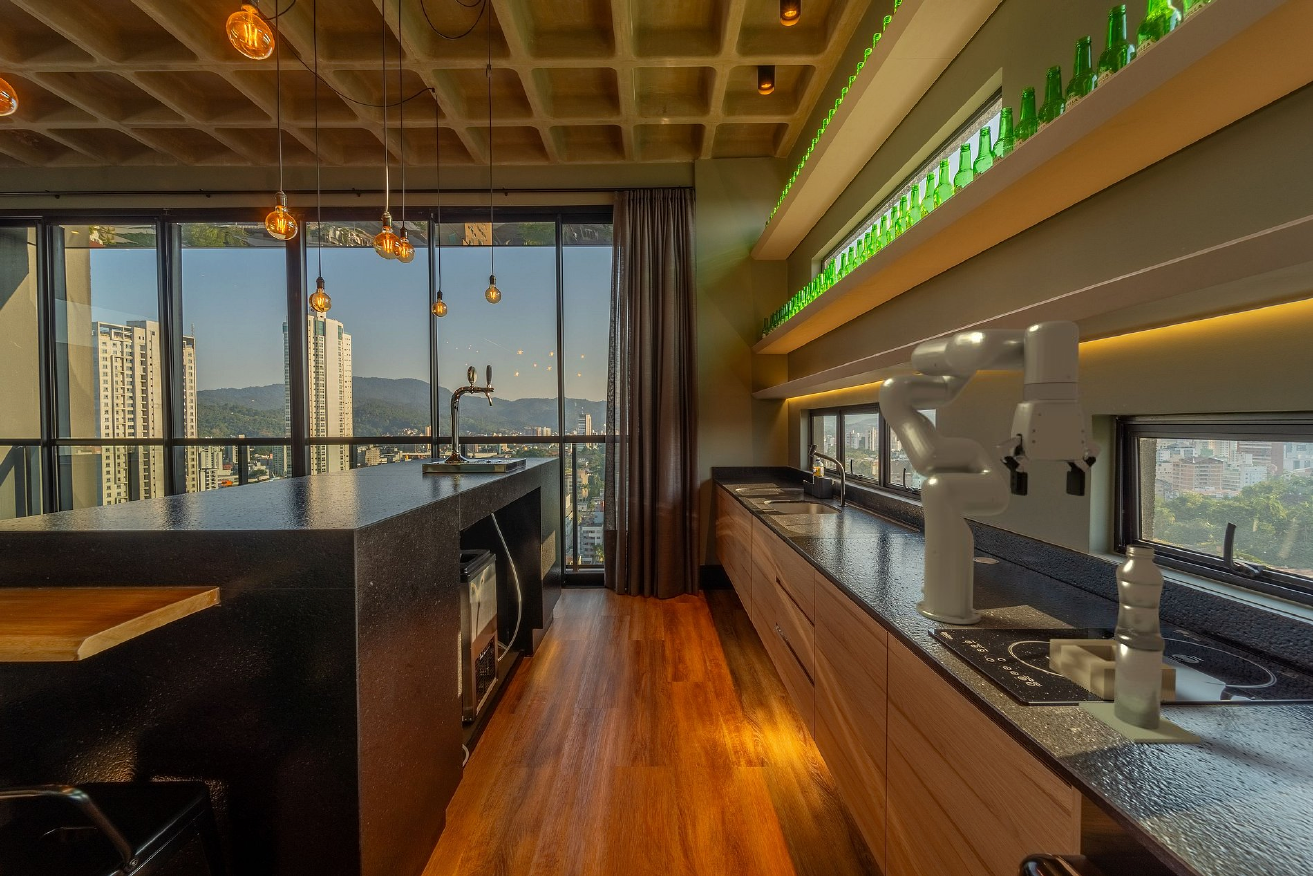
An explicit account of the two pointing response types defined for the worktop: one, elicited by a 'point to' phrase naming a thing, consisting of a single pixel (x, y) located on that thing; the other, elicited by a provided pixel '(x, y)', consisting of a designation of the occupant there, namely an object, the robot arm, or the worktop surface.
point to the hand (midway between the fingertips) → (1047, 494)
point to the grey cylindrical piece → (1138, 678)
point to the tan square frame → (1097, 666)
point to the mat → (1163, 734)
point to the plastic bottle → (1139, 591)
